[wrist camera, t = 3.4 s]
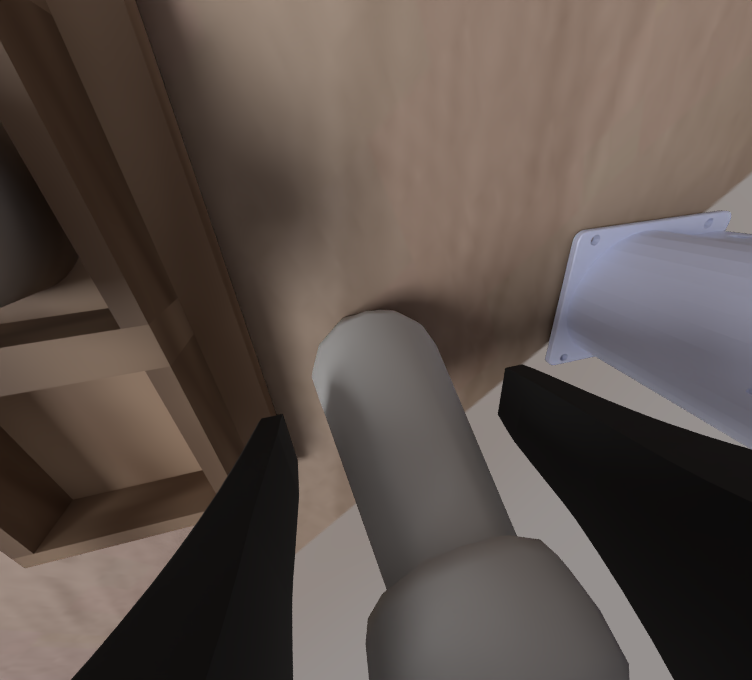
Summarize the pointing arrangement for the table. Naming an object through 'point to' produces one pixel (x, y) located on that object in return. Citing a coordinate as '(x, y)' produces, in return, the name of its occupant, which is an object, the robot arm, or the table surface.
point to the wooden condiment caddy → (107, 295)
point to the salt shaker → (445, 525)
